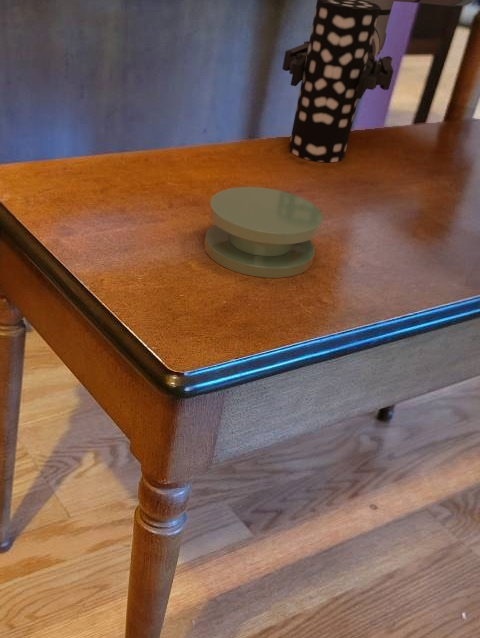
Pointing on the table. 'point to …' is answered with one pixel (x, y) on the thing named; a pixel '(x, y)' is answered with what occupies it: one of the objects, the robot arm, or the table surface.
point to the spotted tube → (332, 78)
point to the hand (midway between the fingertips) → (327, 81)
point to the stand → (262, 232)
